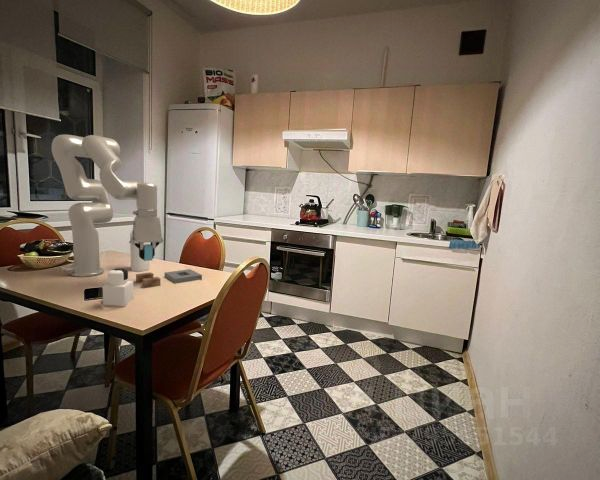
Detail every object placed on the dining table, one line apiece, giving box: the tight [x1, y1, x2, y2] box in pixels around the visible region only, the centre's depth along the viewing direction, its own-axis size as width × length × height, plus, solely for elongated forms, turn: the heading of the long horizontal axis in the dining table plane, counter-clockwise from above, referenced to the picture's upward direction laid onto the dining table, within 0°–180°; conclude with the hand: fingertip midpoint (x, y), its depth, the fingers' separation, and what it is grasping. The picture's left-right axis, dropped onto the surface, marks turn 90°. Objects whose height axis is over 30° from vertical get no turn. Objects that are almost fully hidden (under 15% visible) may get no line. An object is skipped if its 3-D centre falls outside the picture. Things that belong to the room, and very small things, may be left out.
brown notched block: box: [135, 272, 161, 289], centre depth 132 cm, size 6×11×4 cm, turn 44°
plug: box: [142, 243, 154, 262], centre depth 130 cm, size 3×4×6 cm
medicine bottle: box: [101, 267, 135, 308], centre depth 109 cm, size 7×7×12 cm
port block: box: [163, 268, 203, 285], centre depth 142 cm, size 12×12×2 cm
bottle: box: [129, 215, 150, 272], centre depth 151 cm, size 8×8×30 cm
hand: (146, 257), depth 130 cm, fingers closed on plug, 2 cm apart
